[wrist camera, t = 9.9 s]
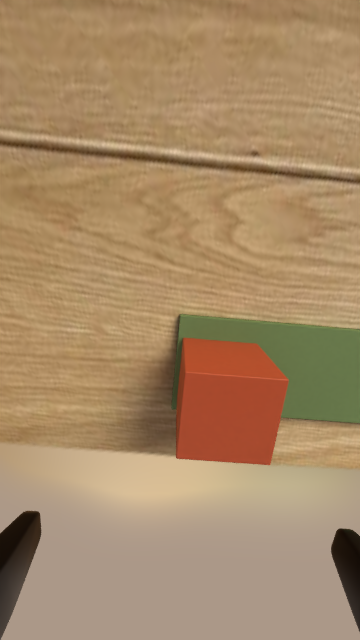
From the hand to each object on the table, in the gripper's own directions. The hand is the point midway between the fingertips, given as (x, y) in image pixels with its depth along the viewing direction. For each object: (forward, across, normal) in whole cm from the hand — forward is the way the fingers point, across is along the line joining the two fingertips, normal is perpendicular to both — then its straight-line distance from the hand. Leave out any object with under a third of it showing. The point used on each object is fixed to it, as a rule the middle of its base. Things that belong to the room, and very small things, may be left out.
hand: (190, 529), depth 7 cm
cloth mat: (+10, -9, -1) cm, 14 cm away
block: (+10, -2, 0) cm, 10 cm away
